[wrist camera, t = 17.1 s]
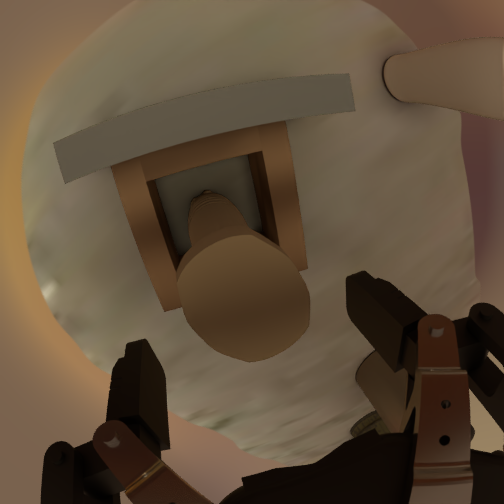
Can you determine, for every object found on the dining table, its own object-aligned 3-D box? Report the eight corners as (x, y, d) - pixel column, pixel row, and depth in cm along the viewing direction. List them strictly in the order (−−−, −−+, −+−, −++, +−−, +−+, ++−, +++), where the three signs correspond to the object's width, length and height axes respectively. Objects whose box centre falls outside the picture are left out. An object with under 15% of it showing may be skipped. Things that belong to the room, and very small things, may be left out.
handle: (205, 250, 27) (240, 375, 13) (163, 193, 24) (151, 284, 10) (250, 221, 27) (327, 322, 13) (212, 161, 24) (262, 210, 10)
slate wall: (298, 112, 23) (355, 111, 16) (102, 162, 21) (65, 183, 13) (293, 86, 22) (349, 73, 14) (94, 135, 20) (53, 142, 12)
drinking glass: (426, 106, 26) (540, 124, 13) (383, 112, 25) (511, 129, 12) (413, 49, 23) (528, 44, 9) (368, 49, 22) (495, 29, 9)
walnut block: (286, 244, 28) (307, 268, 24) (164, 280, 27) (164, 311, 22) (264, 118, 23) (284, 117, 19) (122, 155, 21) (109, 162, 17)
